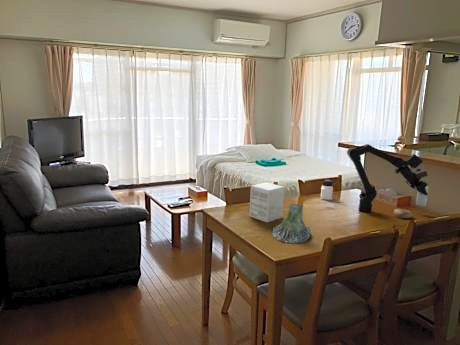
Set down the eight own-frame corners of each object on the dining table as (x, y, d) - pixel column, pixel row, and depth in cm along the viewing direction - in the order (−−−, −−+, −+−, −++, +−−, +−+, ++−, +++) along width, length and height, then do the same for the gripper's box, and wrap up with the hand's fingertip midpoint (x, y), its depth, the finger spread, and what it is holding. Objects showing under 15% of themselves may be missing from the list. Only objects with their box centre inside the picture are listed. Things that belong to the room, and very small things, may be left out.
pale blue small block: (417, 205, 213) (419, 186, 211) (414, 202, 218) (417, 184, 216) (426, 206, 212) (429, 187, 210) (424, 203, 217) (427, 185, 215)
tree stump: (263, 238, 173) (268, 200, 173) (282, 236, 189) (286, 201, 190) (299, 246, 162) (304, 205, 163) (316, 243, 179) (320, 206, 179)
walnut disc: (395, 217, 207) (395, 212, 207) (392, 213, 216) (393, 208, 215) (412, 219, 205) (413, 214, 205) (409, 214, 214) (409, 209, 213)
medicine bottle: (332, 200, 239) (333, 182, 237) (321, 199, 241) (322, 181, 238) (331, 197, 246) (333, 179, 244) (320, 196, 247) (322, 179, 245)
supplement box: (264, 211, 211) (266, 181, 207) (282, 217, 202) (284, 186, 198) (248, 216, 202) (250, 185, 198) (267, 222, 192) (269, 190, 189)
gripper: (426, 167, 202) (444, 188, 203) (413, 162, 220) (429, 181, 221) (409, 181, 204) (427, 201, 205) (397, 174, 222) (414, 193, 224)
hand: (424, 193), depth 214 cm, fingers closed on pale blue small block, 5 cm apart
